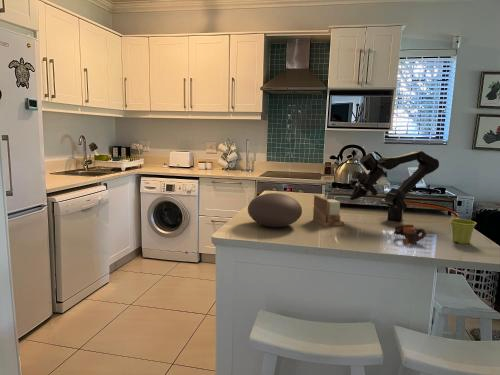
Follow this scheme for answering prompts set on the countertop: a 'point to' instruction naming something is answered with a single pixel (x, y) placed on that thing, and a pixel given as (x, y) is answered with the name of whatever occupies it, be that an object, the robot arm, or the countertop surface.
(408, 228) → the pottery mug
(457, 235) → the plant pot
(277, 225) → the flattened ellipsoid
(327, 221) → the walnut key housing
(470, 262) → the countertop surface
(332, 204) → the cream upright block
